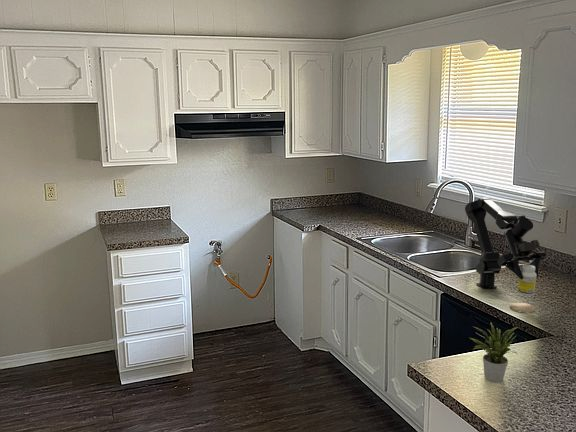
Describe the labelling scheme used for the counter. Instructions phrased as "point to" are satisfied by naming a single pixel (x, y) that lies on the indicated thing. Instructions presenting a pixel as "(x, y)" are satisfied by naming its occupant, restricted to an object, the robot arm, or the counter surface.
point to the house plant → (495, 354)
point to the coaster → (522, 307)
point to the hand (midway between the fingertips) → (529, 278)
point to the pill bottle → (527, 281)
